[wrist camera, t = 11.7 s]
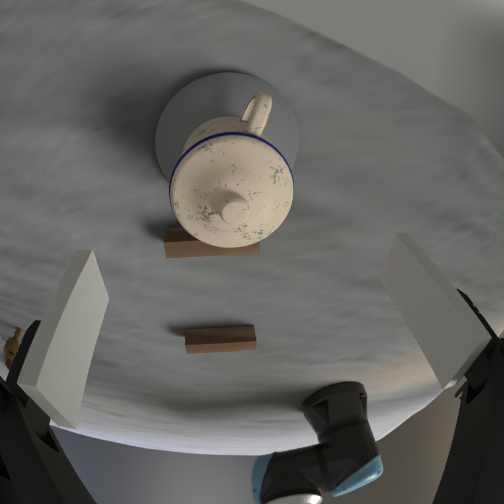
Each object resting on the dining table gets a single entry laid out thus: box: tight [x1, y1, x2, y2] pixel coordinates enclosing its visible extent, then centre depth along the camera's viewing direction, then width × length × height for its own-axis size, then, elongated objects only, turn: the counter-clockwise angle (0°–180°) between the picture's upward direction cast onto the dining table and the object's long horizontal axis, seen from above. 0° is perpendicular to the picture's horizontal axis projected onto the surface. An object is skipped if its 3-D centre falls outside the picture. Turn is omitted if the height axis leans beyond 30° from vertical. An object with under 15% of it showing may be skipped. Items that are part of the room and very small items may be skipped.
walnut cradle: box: [164, 227, 260, 354], centre depth 38 cm, size 19×10×3 cm, turn 179°
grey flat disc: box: [155, 72, 299, 183], centre depth 28 cm, size 14×14×1 cm
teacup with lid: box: [169, 92, 294, 248], centre depth 23 cm, size 12×9×12 cm
